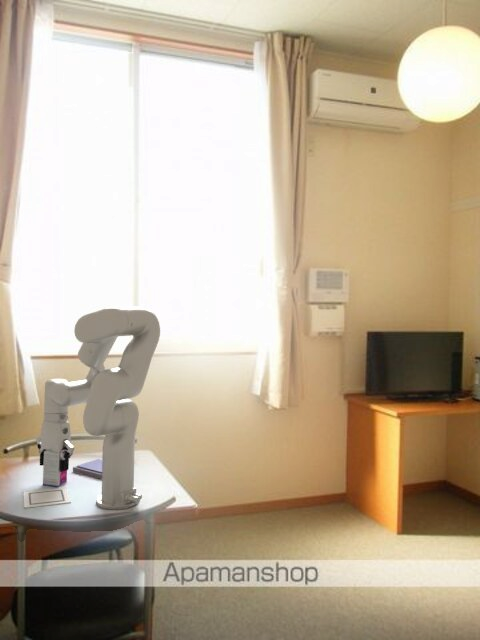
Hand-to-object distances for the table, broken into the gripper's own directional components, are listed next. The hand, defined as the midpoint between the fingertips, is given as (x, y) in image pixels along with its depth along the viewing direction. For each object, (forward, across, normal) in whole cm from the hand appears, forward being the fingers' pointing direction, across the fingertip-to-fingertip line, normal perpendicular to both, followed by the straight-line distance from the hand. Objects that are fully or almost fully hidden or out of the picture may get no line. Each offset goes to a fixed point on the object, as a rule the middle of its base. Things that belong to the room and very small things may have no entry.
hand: (53, 467), depth 179 cm
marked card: (+5, -9, +10) cm, 14 cm away
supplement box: (+6, -1, 0) cm, 6 cm away
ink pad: (+5, -3, -18) cm, 19 cm away
